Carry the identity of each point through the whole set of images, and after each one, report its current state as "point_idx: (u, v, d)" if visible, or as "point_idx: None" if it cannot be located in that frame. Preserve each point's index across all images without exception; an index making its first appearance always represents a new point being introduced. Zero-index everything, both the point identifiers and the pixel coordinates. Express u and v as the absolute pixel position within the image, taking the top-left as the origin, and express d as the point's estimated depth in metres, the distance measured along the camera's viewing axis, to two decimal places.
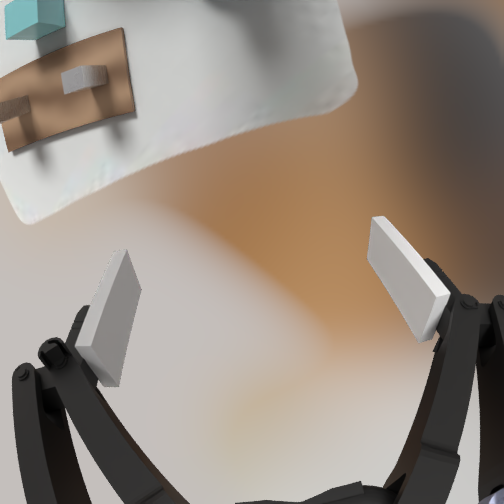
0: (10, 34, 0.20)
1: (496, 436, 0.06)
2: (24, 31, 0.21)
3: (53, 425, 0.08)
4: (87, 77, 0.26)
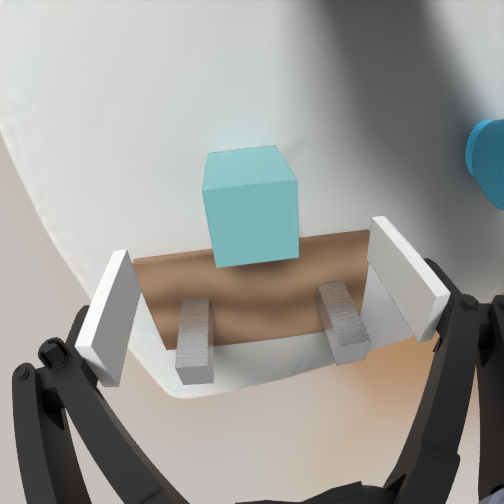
0: (228, 261, 0.19)
1: (496, 436, 0.06)
2: None
3: (54, 425, 0.08)
4: None
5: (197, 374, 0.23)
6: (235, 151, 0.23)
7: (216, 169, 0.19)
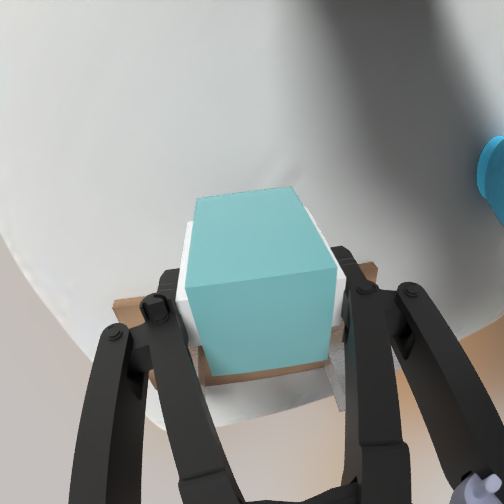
0: (229, 370, 0.13)
1: (445, 427, 0.07)
2: None
3: (132, 394, 0.09)
4: None
5: None
6: (235, 196, 0.16)
7: (208, 235, 0.13)
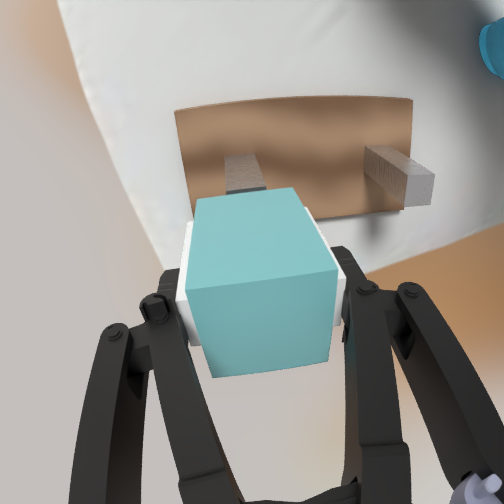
0: (229, 372, 0.13)
1: (445, 427, 0.07)
2: None
3: (131, 394, 0.09)
4: None
5: None
6: (236, 197, 0.16)
7: (208, 236, 0.13)
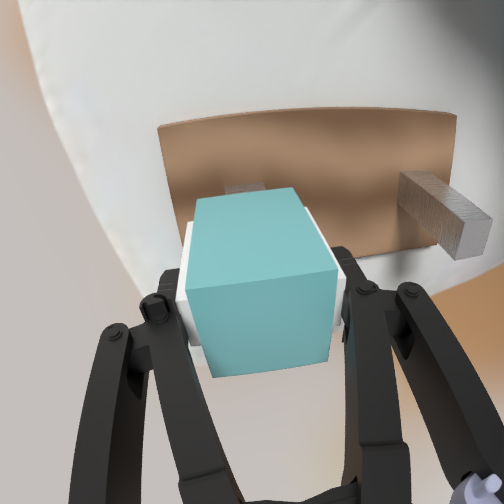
0: (229, 371, 0.13)
1: (445, 427, 0.07)
2: None
3: (131, 394, 0.09)
4: None
5: None
6: (236, 197, 0.16)
7: (208, 236, 0.13)
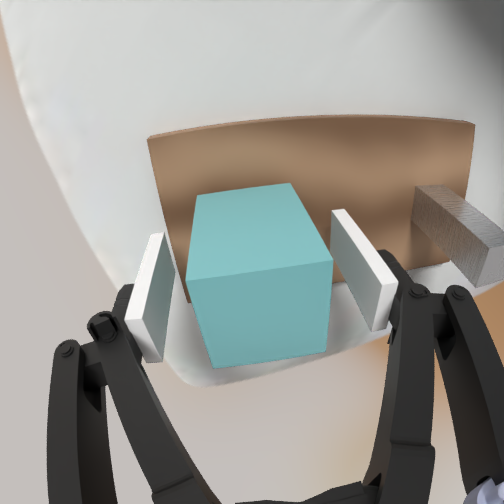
0: (229, 362, 0.13)
1: (471, 429, 0.07)
2: None
3: (91, 407, 0.09)
4: None
5: None
6: (235, 193, 0.17)
7: (208, 230, 0.13)
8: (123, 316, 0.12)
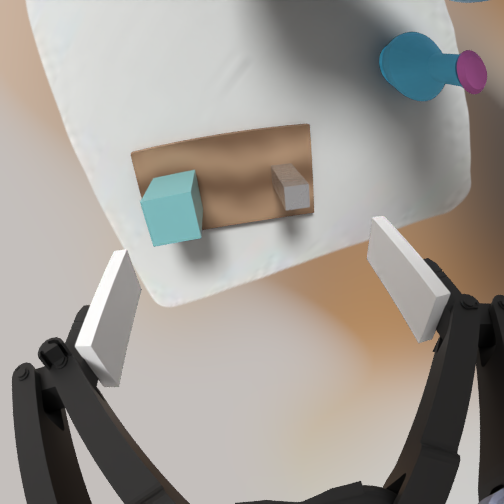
0: (160, 242, 0.32)
1: (496, 436, 0.06)
2: None
3: (53, 425, 0.08)
4: None
5: None
6: (169, 175, 0.35)
7: (152, 188, 0.32)
8: None
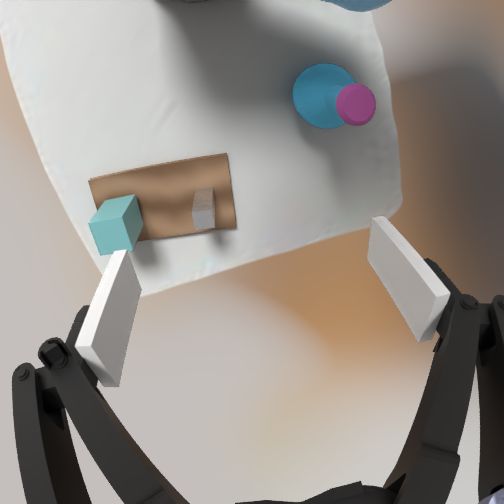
0: (104, 252, 0.40)
1: (496, 436, 0.06)
2: None
3: (53, 425, 0.08)
4: (213, 215, 0.41)
5: None
6: (115, 199, 0.44)
7: (100, 211, 0.40)
8: None
